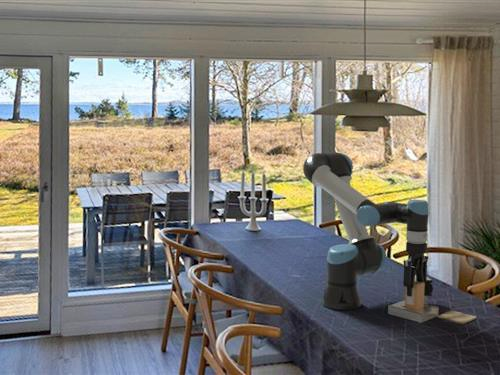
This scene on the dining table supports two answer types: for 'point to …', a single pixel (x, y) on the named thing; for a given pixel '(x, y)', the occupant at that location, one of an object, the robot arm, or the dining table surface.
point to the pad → (457, 317)
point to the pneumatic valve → (427, 289)
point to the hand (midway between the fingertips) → (414, 302)
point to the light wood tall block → (416, 296)
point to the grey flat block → (413, 312)
